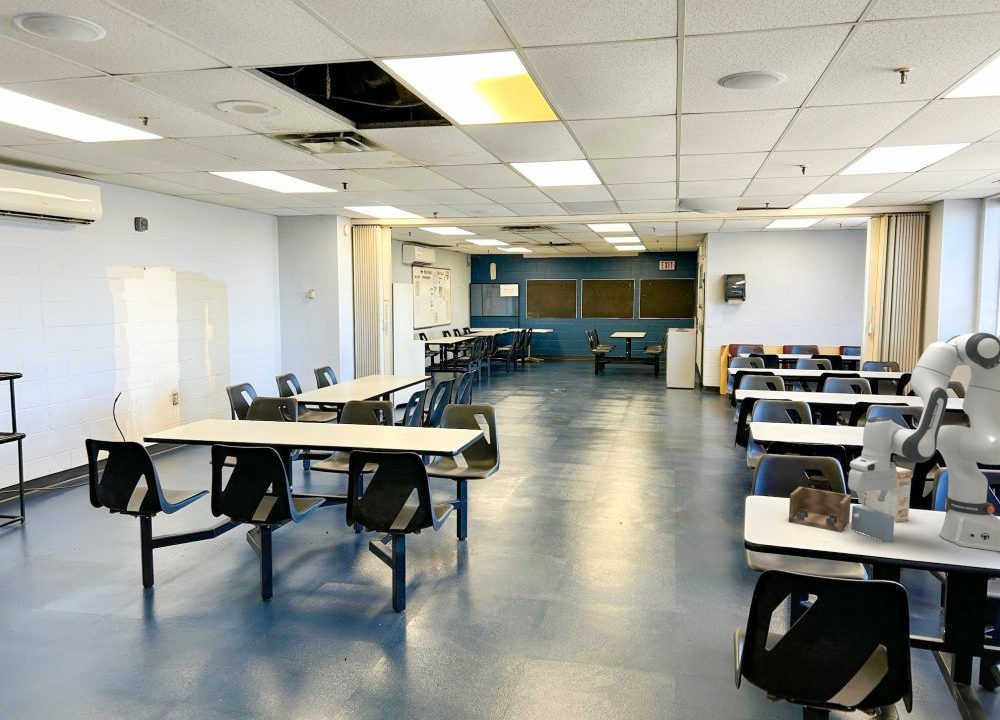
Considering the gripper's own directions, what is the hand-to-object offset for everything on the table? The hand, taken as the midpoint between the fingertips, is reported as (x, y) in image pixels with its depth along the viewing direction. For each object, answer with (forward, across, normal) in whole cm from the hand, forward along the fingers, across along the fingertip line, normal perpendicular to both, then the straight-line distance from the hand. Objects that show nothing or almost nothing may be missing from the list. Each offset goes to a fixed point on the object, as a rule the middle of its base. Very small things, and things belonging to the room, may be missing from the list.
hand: (871, 502), depth 239 cm
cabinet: (+12, +4, -17) cm, 22 cm away
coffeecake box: (+12, -26, -14) cm, 32 cm away
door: (+12, -1, 0) cm, 12 cm away
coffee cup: (+12, -7, -29) cm, 32 cm away
